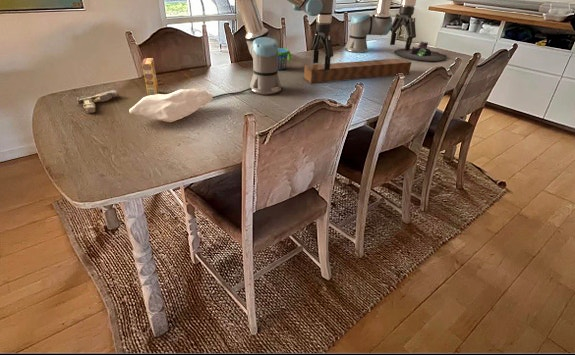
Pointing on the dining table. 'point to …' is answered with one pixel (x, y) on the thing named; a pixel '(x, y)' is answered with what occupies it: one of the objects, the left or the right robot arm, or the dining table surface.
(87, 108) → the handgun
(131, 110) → the crumpled cloth
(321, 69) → the thick board
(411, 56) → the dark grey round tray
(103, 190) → the dining table surface
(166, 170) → the dining table surface
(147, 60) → the candy box
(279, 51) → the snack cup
